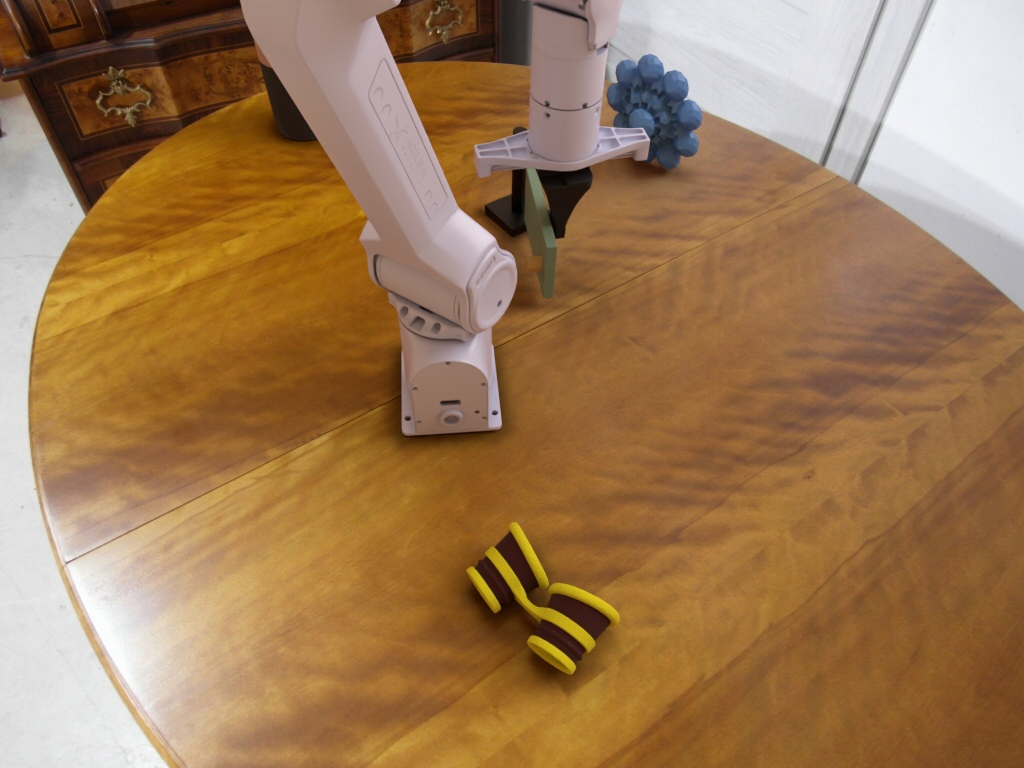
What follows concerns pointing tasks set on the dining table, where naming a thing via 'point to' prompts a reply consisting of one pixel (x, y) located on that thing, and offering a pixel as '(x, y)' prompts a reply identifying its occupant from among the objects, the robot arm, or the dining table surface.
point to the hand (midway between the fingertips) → (556, 231)
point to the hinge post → (511, 202)
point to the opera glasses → (562, 622)
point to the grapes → (656, 108)
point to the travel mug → (283, 105)
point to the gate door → (539, 235)
